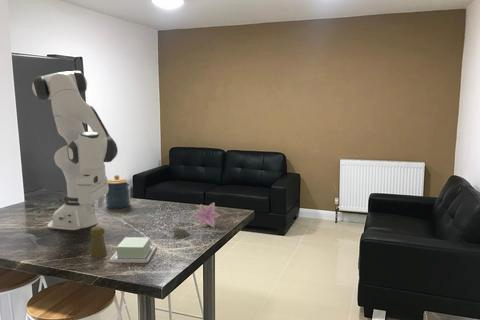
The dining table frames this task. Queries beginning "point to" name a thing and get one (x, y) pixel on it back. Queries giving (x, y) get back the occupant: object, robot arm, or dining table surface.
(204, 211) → the lily
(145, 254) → the butter dish
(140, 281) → the dining table surface
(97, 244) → the cork
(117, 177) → the canister
